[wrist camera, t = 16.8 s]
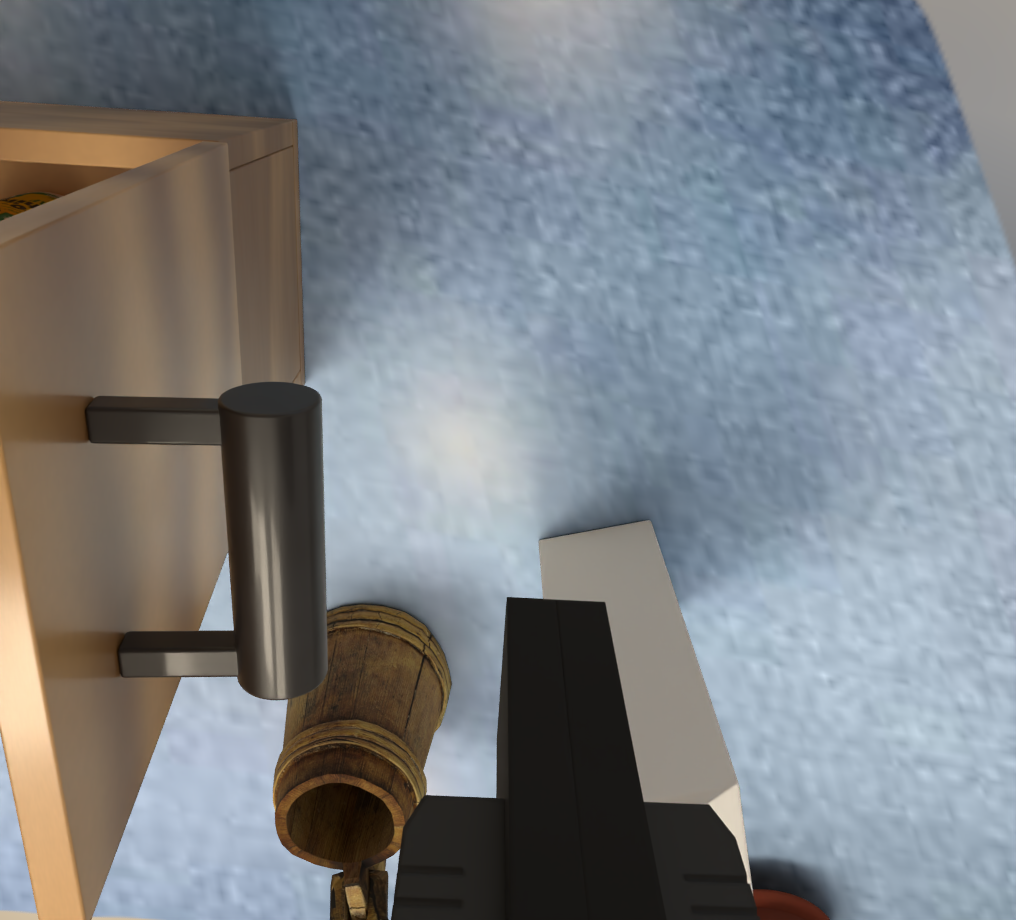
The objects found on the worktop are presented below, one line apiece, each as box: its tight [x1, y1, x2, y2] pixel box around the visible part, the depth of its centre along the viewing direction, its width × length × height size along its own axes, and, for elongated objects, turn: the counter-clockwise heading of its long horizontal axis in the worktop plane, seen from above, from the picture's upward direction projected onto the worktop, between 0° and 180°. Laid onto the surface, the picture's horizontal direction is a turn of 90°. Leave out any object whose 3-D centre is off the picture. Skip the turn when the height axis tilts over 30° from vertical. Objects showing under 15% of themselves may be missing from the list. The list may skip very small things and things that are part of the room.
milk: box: [539, 520, 753, 893], centre depth 38 cm, size 6×6×22 cm
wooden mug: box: [273, 604, 452, 920], centre depth 43 cm, size 9×14×18 cm, turn 6°
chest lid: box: [0, 141, 328, 920], centre depth 22 cm, size 18×12×5 cm
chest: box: [0, 101, 305, 385], centre depth 36 cm, size 17×12×12 cm
